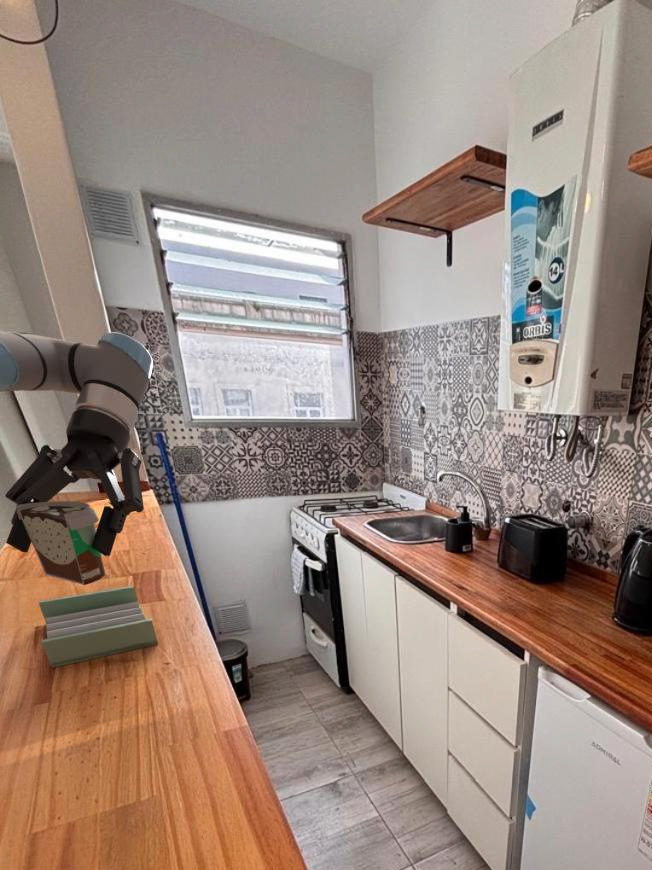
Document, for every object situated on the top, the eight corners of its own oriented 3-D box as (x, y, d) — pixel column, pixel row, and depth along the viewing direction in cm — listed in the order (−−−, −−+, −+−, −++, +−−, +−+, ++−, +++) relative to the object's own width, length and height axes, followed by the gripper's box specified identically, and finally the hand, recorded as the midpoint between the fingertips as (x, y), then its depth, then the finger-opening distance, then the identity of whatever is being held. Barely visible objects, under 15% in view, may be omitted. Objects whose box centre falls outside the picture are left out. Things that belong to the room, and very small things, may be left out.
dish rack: (46, 623, 84) (38, 601, 82) (139, 606, 91) (133, 585, 89) (51, 668, 71) (41, 642, 69) (158, 644, 79) (152, 620, 77)
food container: (134, 574, 77) (114, 506, 72) (90, 587, 72) (66, 514, 67) (83, 561, 81) (61, 497, 77) (39, 573, 76) (13, 504, 72)
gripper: (191, 443, 83) (157, 565, 76) (47, 438, 83) (0, 558, 77) (164, 409, 76) (123, 539, 69) (6, 403, 76) (-50, 532, 69)
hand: (58, 549), depth 73 cm, fingers closed on food container, 11 cm apart
